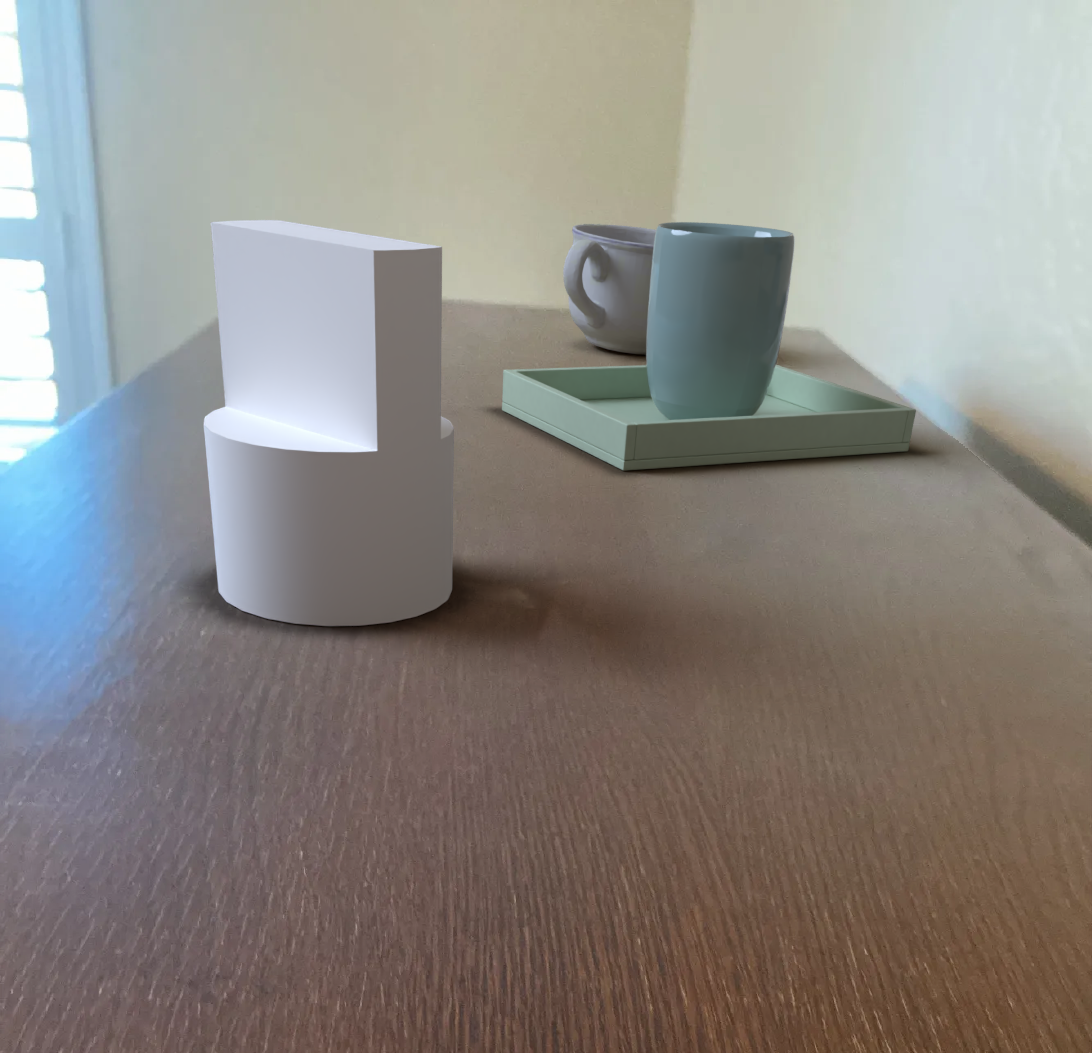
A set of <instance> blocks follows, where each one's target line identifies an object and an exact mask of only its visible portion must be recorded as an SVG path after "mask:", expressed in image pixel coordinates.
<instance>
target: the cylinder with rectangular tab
mask: <svg viewBox="0 0 1092 1053" xmlns="http://www.w3.org/2000/svg"><path fill="white" fill-rule="evenodd" d="M210 228H211V229H210V230H211V231H210V232H211V243H212V245H211V246H212V257H213V270H214V282H215V283H214V284H215V293H216V294H215V295H216V306H217V319H218V320H217V321H218V331H219V344H220V356H221V367H222V368H221V369H222V370H221V371H222V382H223V395H224V406H223V407H220V408H217V409H214V410H212V411H211V412H209V413H208V414H207V415H205V416H204V418H203V434H204V444H205V453H206V454H205V455H206V466H207V478H208V487H209V488H208V490H209V499H210V511H211V512H210V513H211V521H212V522H211V524H212V532H213V544H214V555H215V565H216V566H215V568H216V578H217V589H218V590H217V591H218V593H219V594H220V596H221V597H222V599H224V601H225V602H226V603H228V604H229V605H231V606H233V607H236V608H237V609H238V610H240V611H242V612H244V613H248V614H251V615H254V616H258V617H260V618H264V619H268V620H273V621H278V622H284V623H289V624H294V625H295V624H296V625H308V626H309V625H310V626H322V627H352V626H353V627H357V626H359V627H360V626H368V625H369V626H370V625H377V624H387V623H394V622H397V621H402V620H407V619H411V618H416V617H418V616H421V615H423V614H427V613H429V612H431V611H434V610H436V609H437V608H439V607H440V606H442V605H443V604H444V603H446V602H447V601H448V600H449V598H450V596H451V593H452V591H453V559H454V558H453V556H454V555H453V554H454V553H453V552H454V551H453V549H454V547H453V546H454V479H455V478H454V476H455V475H454V473H455V472H454V471H455V470H454V467H455V463H454V462H455V427H454V425H453V423H452V422H451V420H449V419H448V418H446V417H445V416H442V340H443V339H442V332H443V330H442V329H443V327H442V325H443V324H442V322H443V321H442V318H443V315H442V314H443V297H442V296H443V246H440V245H434V244H429V243H421V242H415V241H409V240H404V239H397V238H391V237H385V236H378V235H372V234H367V233H366V234H365V233H360V232H355V231H348V230H341V229H335V228H329V227H323V226H317V225H312V224H311V225H310V224H305V223H300V222H299V223H298V222H293V221H286V220H280V219H252V220H251V219H249V220H248V219H247V220H246V219H242V220H221V221H211V222H210Z"/></svg>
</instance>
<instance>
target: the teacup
mask: <svg viewBox="0 0 1092 1053" xmlns="http://www.w3.org/2000/svg"><path fill="white" fill-rule="evenodd" d="M571 232H572V239H573V240H572V245H571V247H570V248H569V249H568V252H567V254H566V257H565V259H564V264H563V272H562V274H563V275H562V277H563V285H564V288H565V291H566V293H567V295H568V309H569V313H570V317H571V319H572V321H573V322H574V324H575V325H576V326H577V328H578V329H579V330H580V331H581V332H582V333H583V335H584V338H585V339H586V340H587V342H588V343H589V344H591V345H593V346H596V347H600V348H602V349H606V350H608V351H614V352H618V353H626V354H632V355H645V356H646V337H647V317H648V303H649V290H650V278H651V267H652V256H653V247H654V239H655V233H656V228H655V229H653V228H647V227H646V228H645V227H641V226H640V227H638V226H631V225H630V226H628V225H619V224H601V223H597V224H595V223H583V224H575V225H574V226H572V230H571Z"/></svg>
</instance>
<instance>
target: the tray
mask: <svg viewBox="0 0 1092 1053" xmlns="http://www.w3.org/2000/svg"><path fill="white" fill-rule="evenodd" d="M501 398H502V400H501V401H502V402H501V410H502V412H505V413H507V414H509V415H511V416H513V417H515V418H517V419H518V420H521V421H523V422H525V423H527V424H529V425H531V426H533V427H534V428H537V429H539V430H541V431H543V432H545V433H547V434H549V435H551V436H552V437H555V438H557V439H559V440H561V441H563V442H565V443H567V444H569V445H571V446H573V447H575V448H577V449H579V450H582V451H583V452H585V453H587V454H589V455H591V456H593V457H595V458H597V459H598V460H599V459H600V460H601V461H603V462H605V463H607V464H609V465H610V466H611V465H612V466H613V467H615V468H617V469H619V470H621V471H623V472H624V471H625V472H626V471H640V470H651V469H652V470H654V469H669V468H682V467H683V468H684V467H696V466H698V467H699V466H712V465H725V464H741V463H755V462H757V463H758V462H770V461H771V462H773V461H785V460H798V459H799V460H801V459H813V458H814V459H815V458H827V457H828V458H830V457H844V456H856V455H857V456H858V455H872V454H873V455H874V454H886V453H900V452H901V453H902V452H908V451H909V448H910V442H911V438H912V433H913V428H914V423H915V418H916V413H917V410H916V408H912V407H909V406H906V405H903V404H901V403H897V402H894V401H891V400H888V399H884V398H882V397H878V396H876V395H872V394H869V393H866V392H863V391H860V390H858V389H857V390H856V389H854V388H850V387H848V386H844V385H841V384H838V383H834V382H832V381H829V380H825V379H822V378H819V377H817V376H813V375H810V374H806V373H804V372H801V371H797V370H794V369H791V368H789V367H785V366H782V365H779V364H776V367H775V371H774V374H773V378H772V381H771V384H770V387H769V390H768V393H767V395H766V397H765V399H764V401H763V403H762V405H761V406H760V408H759V409H758V411H757V412H756V413H755V414H754V415H753V416H737V417H718V418H699V419H680V420H669V419H667V418H666V417H664V416H663V415H662V414H661V413H660V412H659V411H658V409H657V408H656V406H655V405H654V403H653V400H652V398H651V395H650V391H649V386H648V378H647V365H646V364H641V365H640V364H639V365H612V366H611V365H609V366H579V367H578V366H577V367H575V366H574V367H547V368H546V367H545V368H515V369H503V371H502V397H501Z"/></svg>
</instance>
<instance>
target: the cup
mask: <svg viewBox="0 0 1092 1053" xmlns="http://www.w3.org/2000/svg"><path fill="white" fill-rule="evenodd" d="M655 230H656V233H655V239H654V247H653V256H652V267H651V278H650V290H649V303H648V317H647V337H646V355H645V362H646V363H645V365H647V378H648V386H649V391H650V395H651V398H652V400H653V403H654V405H655V406H656V408H657V409H658V411H659V412H660V413H661V414H662V415H663V416H664V417H666V418H667V419H669V420H680V419H699V418H718V417H737V416H753V415H754V414H755V413H756V412H757V411H758V409H759V408H760V406H761V405H762V403H763V401H764V399H765V397H766V395H767V393H768V390H769V387H770V384H771V381H772V378H773V374H774V371H775V367H776V365H777V362H778V359H779V354H780V348H781V344H782V337H783V333H784V327H785V320H786V313H787V309H788V308H787V307H788V300H789V293H790V286H791V279H792V271H793V266H794V257H795V246H796V238H795V234H794V233H793V232H790V231H788V230H787V231H786V230H782V229H776V228H768V227H761V226H753V225H743V224H742V225H741V224H729V223H717V222H698V221H697V222H695V221H694V222H693V221H674V222H663V223H658V225H657V226H656V228H655Z"/></svg>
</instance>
